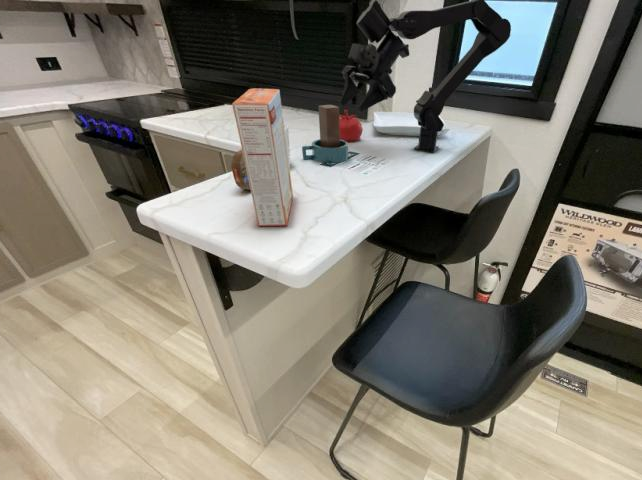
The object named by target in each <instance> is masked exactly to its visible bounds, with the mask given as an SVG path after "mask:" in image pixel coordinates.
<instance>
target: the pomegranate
mask: <svg viewBox="0 0 642 480" xmlns="http://www.w3.org/2000/svg"><path fill="white" fill-rule="evenodd" d="M343 112H344V115H341V114H339V131H340V140H344V141H346V142H347V143H354V142H356V141H359V140H360V139H361V137H362V135H363V130H364V128H363V126H362V122H361V121H360V120H359V119H358V117H357V115H356V114H352V115H349V114H348V109H344V111H343Z"/></svg>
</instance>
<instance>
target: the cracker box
mask: <svg viewBox="0 0 642 480" xmlns="http://www.w3.org/2000/svg"><path fill="white" fill-rule="evenodd" d="M231 105H232V111H233V114H234V117H235V123H236V128H237V133H238V137H239V141H240V146H241V149H242V152H243V156H244V161H245V166H246V171H247V175H248V180H249V185H250V189H251V190H250V193H251V198H252V203H253V209H254V212H255V217H256V222H257V226H258V227H281V226H283V227H285V226H288V223H289V219H290V214H291V209H292V205H293V199H294V193H293V185H292V184H293V183H292V177H291V176H292V175H291V168H290V166H289V160H288V153H287V145H286V137H285V129H284V125H285V121H284V115H283V107H282V105H283V104H282V99H281V91H280V89H279V88H277V89H276V88H260V87H258V88H255V87H254V88H249V89H247V90H246V91H245V92H244V93H243V94H241V95H240V97H238V98H237V99H235V101H233V102H232V103H231Z"/></svg>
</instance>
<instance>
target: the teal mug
mask: <svg viewBox="0 0 642 480" xmlns="http://www.w3.org/2000/svg"><path fill="white" fill-rule="evenodd" d="M301 151H302V152H301V153H302V159H303V160H314V161H315V162H318V163H321V164H341V163H344V162H346V161H348V160H349V142H346V141H344V140H340V147H336V148H325V147H321V145H320V138H318V139H316V140H313V141H312V142H311V145H303V146H301ZM307 151H311V154H307Z"/></svg>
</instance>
